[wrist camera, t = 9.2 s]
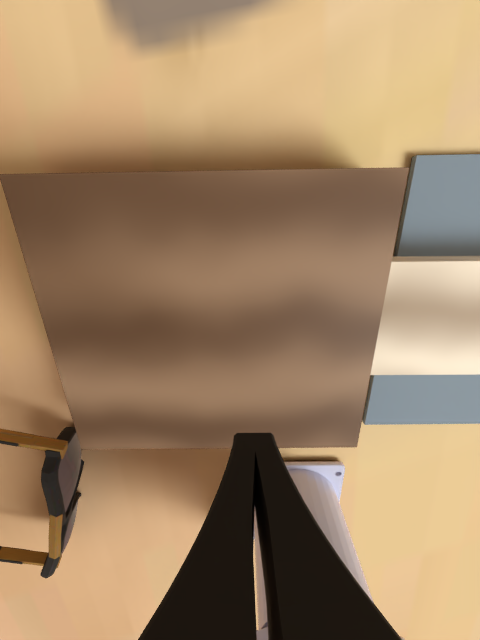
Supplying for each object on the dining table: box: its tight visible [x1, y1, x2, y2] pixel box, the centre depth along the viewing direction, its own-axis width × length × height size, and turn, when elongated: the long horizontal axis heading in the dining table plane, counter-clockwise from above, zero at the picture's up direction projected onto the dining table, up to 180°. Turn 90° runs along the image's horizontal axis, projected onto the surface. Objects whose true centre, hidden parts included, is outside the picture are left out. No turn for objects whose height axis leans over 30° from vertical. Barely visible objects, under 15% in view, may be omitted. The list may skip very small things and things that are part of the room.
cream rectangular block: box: [370, 256, 480, 375], centre depth 16 cm, size 7×10×2 cm
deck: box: [0, 167, 409, 449], centre depth 16 cm, size 16×18×4 cm
